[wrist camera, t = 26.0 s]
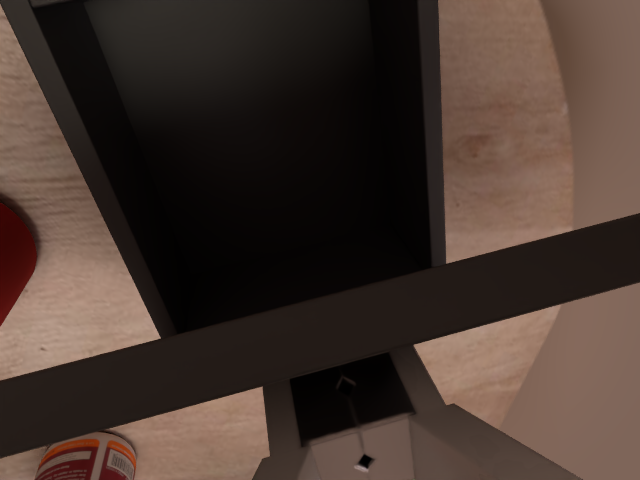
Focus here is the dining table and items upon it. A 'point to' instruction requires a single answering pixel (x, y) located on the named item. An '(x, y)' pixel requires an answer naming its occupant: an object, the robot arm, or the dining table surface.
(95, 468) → the pill bottle
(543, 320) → the dining table surface
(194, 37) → the black keepsake box
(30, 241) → the beverage can
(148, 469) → the dining table surface
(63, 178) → the dining table surface
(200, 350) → the dark hinged box lid
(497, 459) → the robot arm
